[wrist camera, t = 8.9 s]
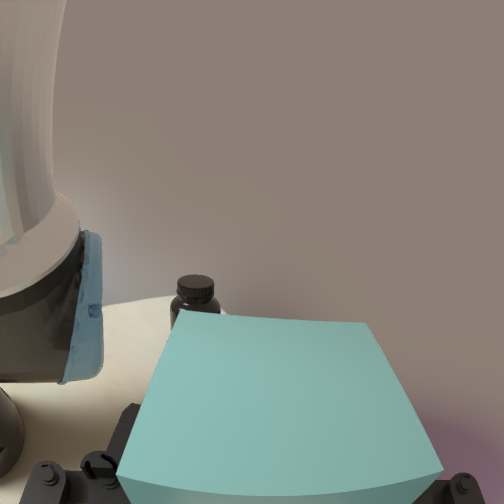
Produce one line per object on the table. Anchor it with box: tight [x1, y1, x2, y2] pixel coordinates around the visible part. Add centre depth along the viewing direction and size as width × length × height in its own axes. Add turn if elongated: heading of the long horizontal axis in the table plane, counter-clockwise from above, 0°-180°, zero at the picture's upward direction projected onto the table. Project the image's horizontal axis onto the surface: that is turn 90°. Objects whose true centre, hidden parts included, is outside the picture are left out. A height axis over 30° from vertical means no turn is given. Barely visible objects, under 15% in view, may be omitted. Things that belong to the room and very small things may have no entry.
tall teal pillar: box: [116, 310, 444, 504], centre depth 9 cm, size 6×6×11 cm
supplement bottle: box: [170, 275, 221, 331], centre depth 41 cm, size 7×7×12 cm
